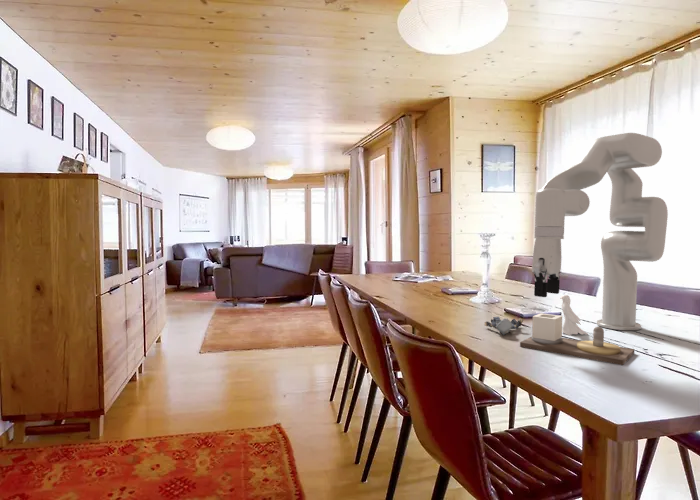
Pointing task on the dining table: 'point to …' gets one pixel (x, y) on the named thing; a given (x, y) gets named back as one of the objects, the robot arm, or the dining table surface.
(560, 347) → the workboard
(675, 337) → the dining table surface
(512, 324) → the toy
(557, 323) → the collar
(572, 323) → the figurine
